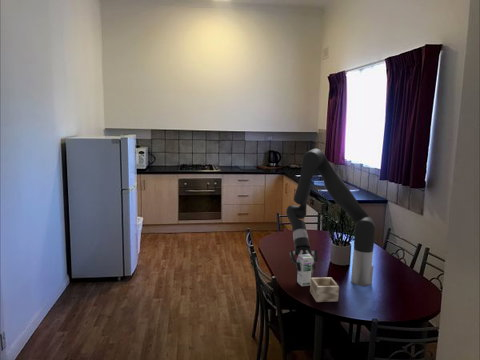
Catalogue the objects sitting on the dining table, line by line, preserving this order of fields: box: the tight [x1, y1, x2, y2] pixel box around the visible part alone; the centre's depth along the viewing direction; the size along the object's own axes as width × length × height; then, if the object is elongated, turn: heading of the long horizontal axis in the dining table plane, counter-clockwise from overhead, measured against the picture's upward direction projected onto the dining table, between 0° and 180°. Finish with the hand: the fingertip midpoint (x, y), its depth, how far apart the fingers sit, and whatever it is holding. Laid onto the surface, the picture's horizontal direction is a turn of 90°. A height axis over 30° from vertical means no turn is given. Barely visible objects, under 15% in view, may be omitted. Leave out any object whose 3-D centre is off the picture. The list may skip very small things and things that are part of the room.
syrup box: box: [296, 254, 314, 287], centre depth 190 cm, size 6×6×14 cm
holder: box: [309, 276, 340, 303], centre depth 177 cm, size 10×10×7 cm
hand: (306, 270), depth 188 cm, fingers closed on syrup box, 6 cm apart
